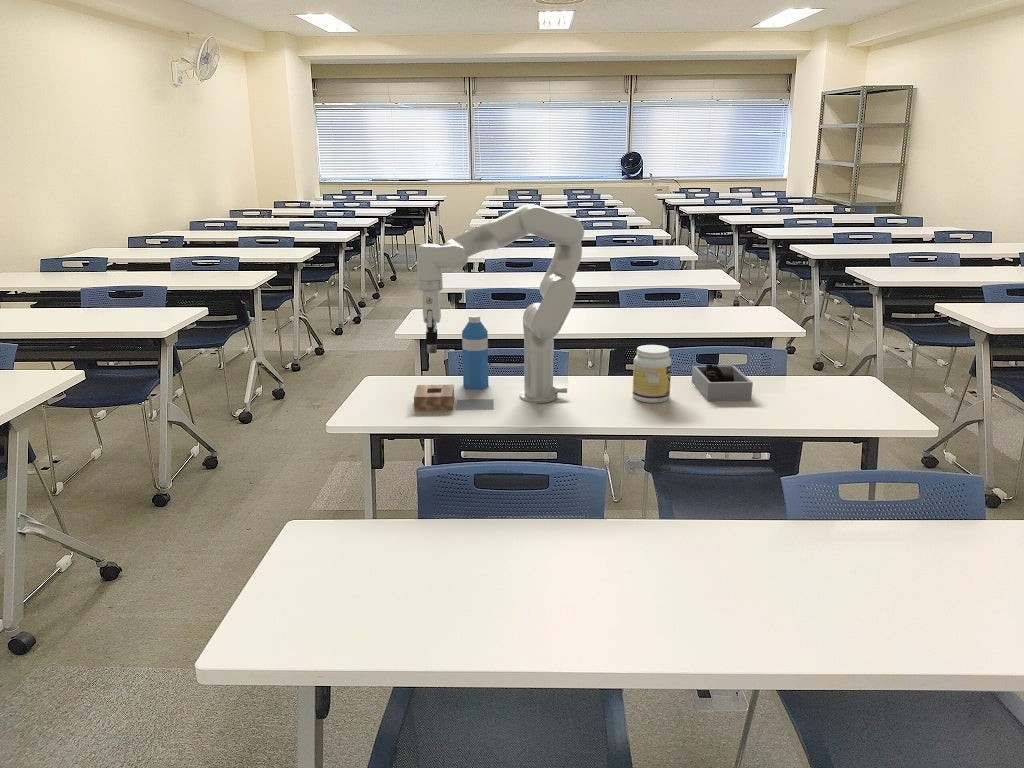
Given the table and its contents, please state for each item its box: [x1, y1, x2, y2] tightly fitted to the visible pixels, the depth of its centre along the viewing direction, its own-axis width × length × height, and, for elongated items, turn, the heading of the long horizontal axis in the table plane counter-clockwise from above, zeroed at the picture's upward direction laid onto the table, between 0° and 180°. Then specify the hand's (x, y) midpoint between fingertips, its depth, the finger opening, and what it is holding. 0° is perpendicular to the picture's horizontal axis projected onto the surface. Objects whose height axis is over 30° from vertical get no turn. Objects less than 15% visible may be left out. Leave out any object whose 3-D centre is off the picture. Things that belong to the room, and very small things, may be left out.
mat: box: [455, 398, 495, 411], centre depth 239 cm, size 12×10×1 cm
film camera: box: [704, 363, 734, 382], centre depth 250 cm, size 15×10×9 cm, turn 171°
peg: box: [426, 321, 438, 354], centre depth 232 cm, size 3×3×11 cm
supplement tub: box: [632, 344, 672, 404], centre depth 242 cm, size 12×12×17 cm
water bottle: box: [461, 314, 489, 390], centre depth 254 cm, size 9×9×25 cm
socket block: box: [413, 384, 455, 412], centre depth 238 cm, size 12×12×5 cm
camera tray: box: [691, 365, 754, 402], centre depth 250 cm, size 14×20×6 cm
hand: (431, 342), depth 233 cm, fingers closed on peg, 3 cm apart
